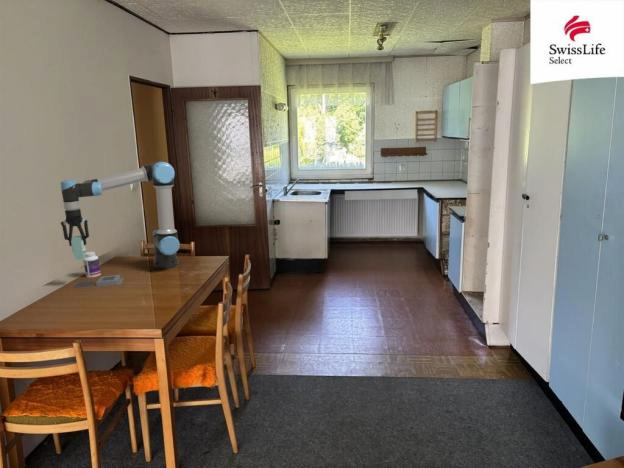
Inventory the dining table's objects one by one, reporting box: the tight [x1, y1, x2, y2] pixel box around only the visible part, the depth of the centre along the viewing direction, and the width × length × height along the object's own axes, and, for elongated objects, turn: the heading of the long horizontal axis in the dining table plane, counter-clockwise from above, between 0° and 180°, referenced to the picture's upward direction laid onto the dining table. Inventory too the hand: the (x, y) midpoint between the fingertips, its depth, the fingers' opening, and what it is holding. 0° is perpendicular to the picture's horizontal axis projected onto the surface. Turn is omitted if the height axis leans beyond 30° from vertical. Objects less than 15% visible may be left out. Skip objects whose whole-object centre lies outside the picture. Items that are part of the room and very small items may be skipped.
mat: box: [73, 280, 96, 289], centre depth 261 cm, size 9×9×1 cm
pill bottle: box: [82, 251, 102, 278], centre depth 276 cm, size 8×8×14 cm
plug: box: [71, 235, 86, 261], centre depth 256 cm, size 4×4×12 cm
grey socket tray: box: [93, 274, 124, 288], centre depth 262 cm, size 14×11×3 cm
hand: (79, 251), depth 256 cm, fingers closed on plug, 4 cm apart
